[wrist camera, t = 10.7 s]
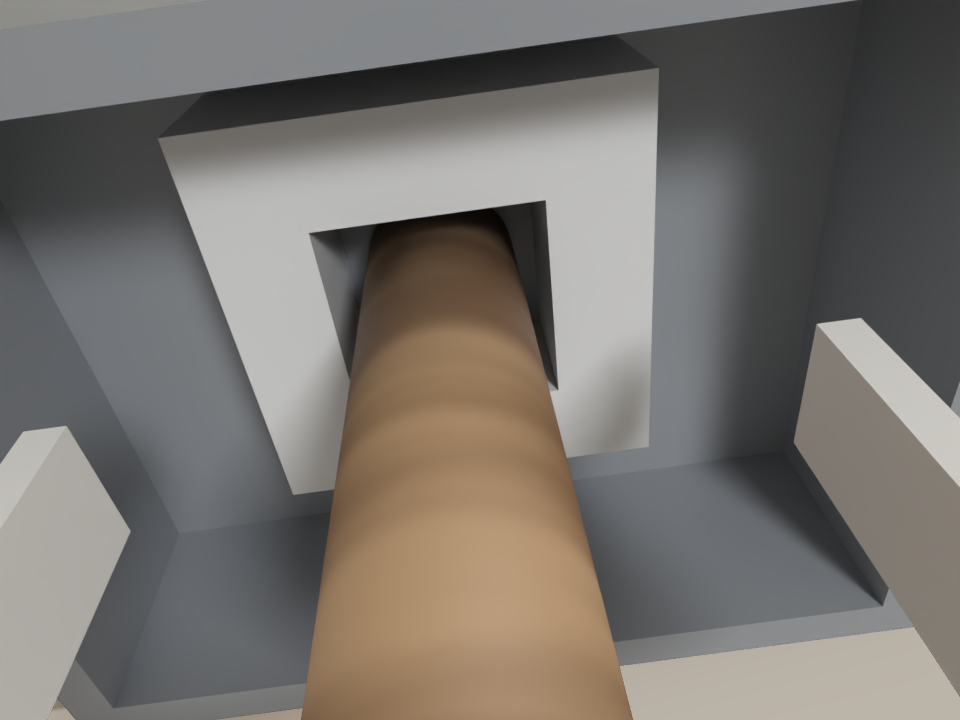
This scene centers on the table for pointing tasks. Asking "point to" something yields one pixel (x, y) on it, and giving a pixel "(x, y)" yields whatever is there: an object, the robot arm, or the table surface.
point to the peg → (455, 504)
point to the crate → (543, 269)
